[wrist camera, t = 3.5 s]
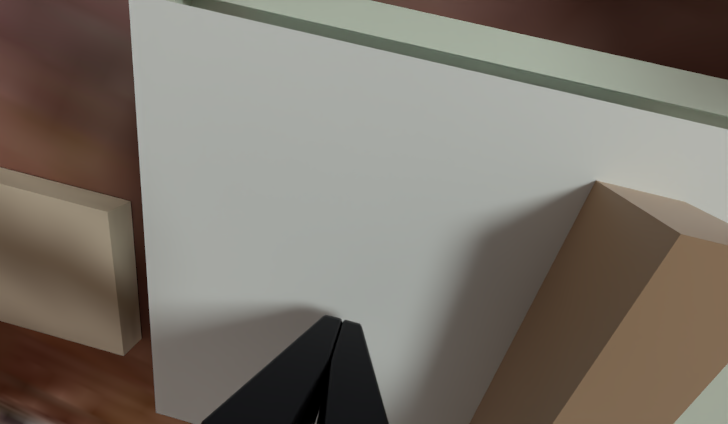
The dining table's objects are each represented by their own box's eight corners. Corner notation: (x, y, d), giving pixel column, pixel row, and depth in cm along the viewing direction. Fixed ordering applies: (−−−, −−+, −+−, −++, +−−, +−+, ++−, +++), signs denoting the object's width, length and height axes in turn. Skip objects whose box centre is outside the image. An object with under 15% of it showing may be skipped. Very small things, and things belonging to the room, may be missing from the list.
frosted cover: (498, 391, 14) (557, 632, 8) (228, 317, 15) (96, 490, 9) (647, 115, 10) (1045, 197, 4) (244, 22, 10) (-14, -46, 4)
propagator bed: (799, 475, 15) (840, 518, 14) (186, 306, 17) (163, 329, 15) (1164, 186, 10) (1299, 207, 8) (183, -34, 11) (146, -50, 9)
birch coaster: (141, 338, 18) (123, 356, 17) (2, 299, 18) (-24, 313, 17) (130, 201, 15) (107, 212, 14) (-39, 157, 15) (-75, 163, 14)
